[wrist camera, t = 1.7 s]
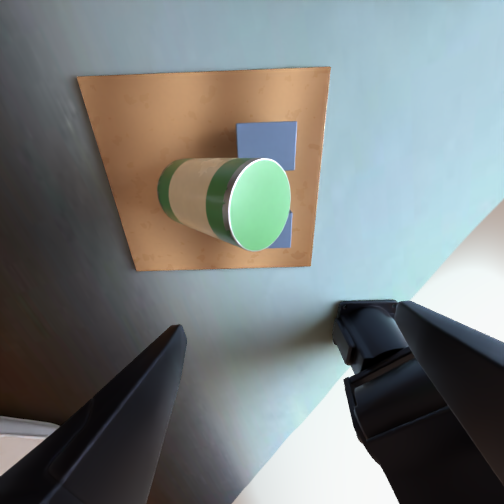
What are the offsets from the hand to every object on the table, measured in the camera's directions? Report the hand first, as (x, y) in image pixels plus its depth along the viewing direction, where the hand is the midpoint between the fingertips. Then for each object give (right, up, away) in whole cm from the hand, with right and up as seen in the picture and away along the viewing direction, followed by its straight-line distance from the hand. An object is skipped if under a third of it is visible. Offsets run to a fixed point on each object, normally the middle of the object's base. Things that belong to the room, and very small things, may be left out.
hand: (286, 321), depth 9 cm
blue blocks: (0, +8, +9) cm, 13 cm away
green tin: (-4, +8, +9) cm, 13 cm away
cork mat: (-5, +9, +10) cm, 14 cm away
